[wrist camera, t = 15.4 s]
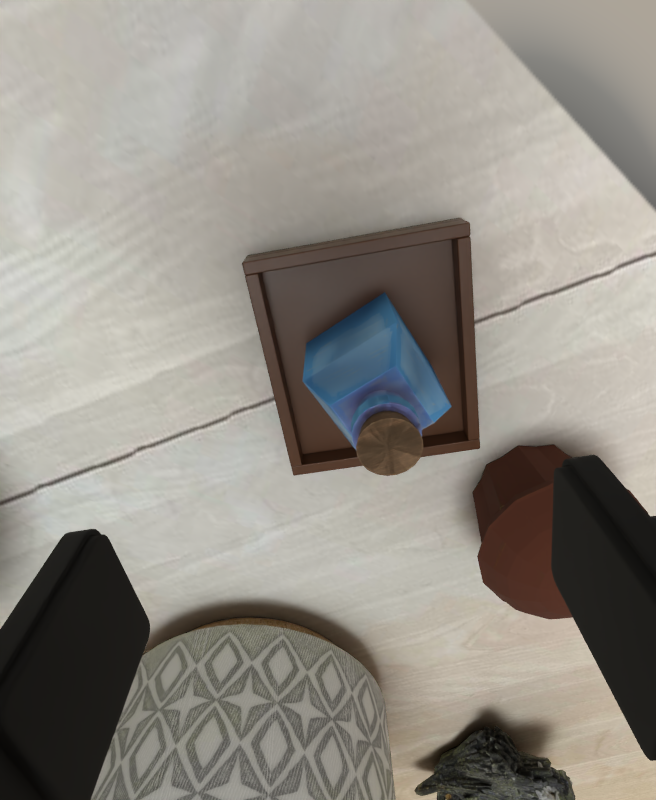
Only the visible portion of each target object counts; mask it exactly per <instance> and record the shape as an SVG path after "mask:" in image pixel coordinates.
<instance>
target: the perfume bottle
mask: <svg viewBox="0 0 656 800" xmlns="http://www.w3.org/2000/svg"><path fill="white" fill-rule="evenodd" d="M303 382H304V384H305V385H306V386H307V388H308V389H309V390H310V391H311V393H312V394H313V395H314V397H315V398H316V399H317V400H318V402H319V403H320V404H321V406H322V407H323V408H324V410H325V411H326V412H327V413H328V415H329V416H330V417H331V419H332V420H333V421H334V423H335V424H336V425H337V426H338V428H339V429H340V430H341V432H342V433H343V434H344V436H345V437H346V438H347V439H348V441H349V442H350V443H351V445H352V446H353V447H354V448H355V450H356V451H357V457H358V459H359V460H360V462H361V464H362V465H363V466H364V467H365V468H366V469H367V470H369V471H371V472H373V473H376V474H379V475H386V476H389V475H397V474H400V473H403V472H405V471H407V470H409V469H410V468H411V467H413V466H414V465H415V464H416V463H417V461H418V460H419V459H420V457H421V454H422V451H423V439H422V430H423V429H424V428H426V427H428V426H430V425H431V424H433V423H435V422H436V421H437V420H438V419H439V418H440V417H441V416H442V415H443V414H444V413H445V412H446V411H448V410H449V409H450V408H451V407H452V406H451V404H450V402H449V400H448V398H447V396H446V394H445V392H444V390H443V388H442V386H441V384H440V382H439V380H438V378H437V376H436V374H435V372H434V370H433V368H432V366H431V364H430V362H429V361H428V359H427V358H426V356H425V355H424V353H423V351H422V350H421V348H420V347H419V345H418V344H417V342H416V340H415V339H414V337H413V336H412V334H411V333H410V331H409V329H408V328H407V326H406V325H405V323H404V322H403V320H402V319H401V317H400V315H399V314H398V312H397V311H396V309H395V308H394V306H393V304H392V303H391V301H390V300H389V298H388V297H387V295H386V293H385V292H384V293H383V294H381V295H380V296H378V297H377V298H375V299H374V300H372V301H371V302H369V303H368V304H366V305H365V306H363V307H361V308H360V309H358V310H357V311H355V312H354V313H352V314H351V315H349V316H348V317H346V318H345V319H343V320H342V321H340V322H338V323H337V324H335V325H334V326H332V327H331V328H329V329H328V330H326V331H325V332H323V333H322V334H320V335H319V336H317V337H316V338H314V339H312V340H311V341H309V342H308V343H306V352H305V362H304V372H303Z"/></svg>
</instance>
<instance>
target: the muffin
mask: <svg viewBox="0 0 656 800" xmlns="http://www.w3.org/2000/svg"><path fill="white" fill-rule="evenodd" d="M569 458H572V457H570V456H569V455H567V454H565V453H564V452H563V451H561V450H560V449H559V448H558V447H557V446H555V445H545V446H537V447H533V446H517V447H516V448H514V449H513V450H511V451H510V452H509V453H507V454H506V455H504V456H503V457H501V458H499V459H497V460H495V461H493V462H491V463H489V464H487V465H486V467H485V470H484V473H483V475H482V478H481V480H480V482H479V483H478V485H477V486H476V488H475V490H474V491H473V497H474V502H475V508H476V514H477V519H478V525H479V531H480V536H481V542H482V544H481V547H480V550H479V553H478V556H477V557H478V561H479V566H480V570H481V575H482V579H483V583H484V584H485V585H486V586H487V587H489V588H490V589H491V590H492V591H493V592H494V593H495V594H496V595H497V596H498V597H499V598H500V599H502V600H503V601H504V602H507V603H508V604H509V605H511V606H512V607H513V608H514V609H516V610H519V611H521V612H524V613H528V614H531V615H535V616H539V617H543V618H546V619H560V618H571V617H573V616H572V615H571V613H570V611H569V609H568V607H567V605H566V603H565V601H564V599H563V597H562V595H561V593H560V591H559V590H558V588H557V586H556V583H555V581H554V578H553V574H552V569H551V556H552V519H553V483H554V470H555V468H559V467H562V463H563V461H564V460H565V459H569ZM628 491H629V490H628ZM629 493H630V494H631V495H632V496H633V497H634V495H633V494H632V493H631V492H630V491H629ZM634 498H635V497H634ZM635 500H636V501H637V502H638V503H639V501H638V500H637V499H636V498H635ZM639 504H640V503H639ZM640 505H641V504H640ZM641 506H642V505H641ZM642 508H643V506H642ZM643 509H644V508H643ZM644 510H645V509H644ZM645 511H646V510H645ZM646 512H647V511H646ZM647 513H648V512H647Z"/></svg>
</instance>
